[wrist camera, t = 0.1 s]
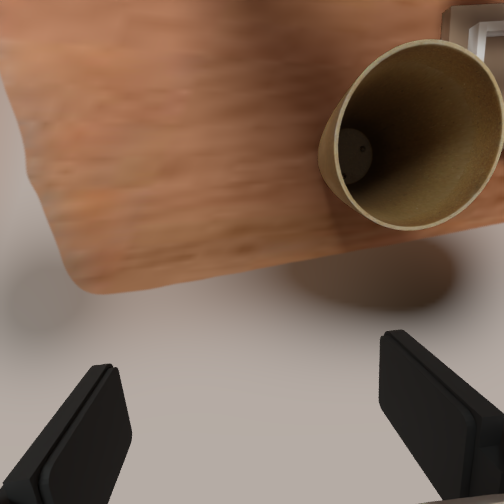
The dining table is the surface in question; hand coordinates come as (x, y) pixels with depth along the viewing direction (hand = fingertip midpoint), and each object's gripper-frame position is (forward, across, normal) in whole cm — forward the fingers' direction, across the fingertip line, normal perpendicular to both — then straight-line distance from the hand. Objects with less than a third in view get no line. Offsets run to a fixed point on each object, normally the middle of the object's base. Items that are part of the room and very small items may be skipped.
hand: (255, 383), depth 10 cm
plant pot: (+31, -16, -9) cm, 36 cm away
